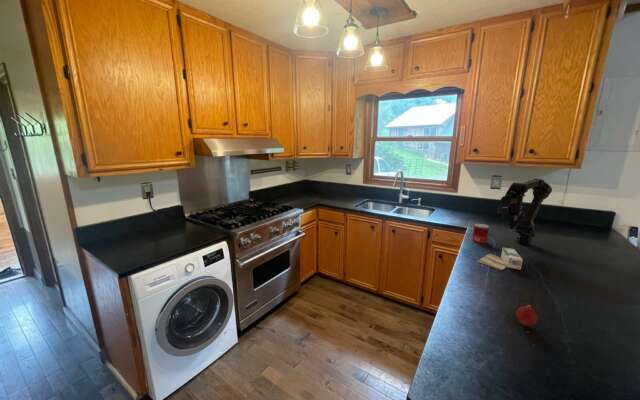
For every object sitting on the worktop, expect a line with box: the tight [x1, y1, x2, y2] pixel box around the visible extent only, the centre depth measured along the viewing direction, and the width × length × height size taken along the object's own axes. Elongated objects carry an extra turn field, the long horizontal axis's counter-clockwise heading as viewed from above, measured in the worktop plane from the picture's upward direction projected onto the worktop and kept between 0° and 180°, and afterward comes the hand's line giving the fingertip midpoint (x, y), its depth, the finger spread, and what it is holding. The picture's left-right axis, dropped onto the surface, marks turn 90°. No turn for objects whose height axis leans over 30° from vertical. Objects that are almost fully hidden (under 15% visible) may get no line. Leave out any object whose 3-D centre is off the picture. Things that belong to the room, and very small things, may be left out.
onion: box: [515, 304, 538, 327], centre depth 91 cm, size 6×6×8 cm
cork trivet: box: [476, 253, 508, 271], centre depth 140 cm, size 16×12×1 cm
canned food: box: [472, 223, 490, 244], centre depth 168 cm, size 8×8×11 cm
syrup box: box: [500, 247, 523, 270], centre depth 138 cm, size 6×6×14 cm
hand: (511, 228), depth 158 cm, fingers closed
